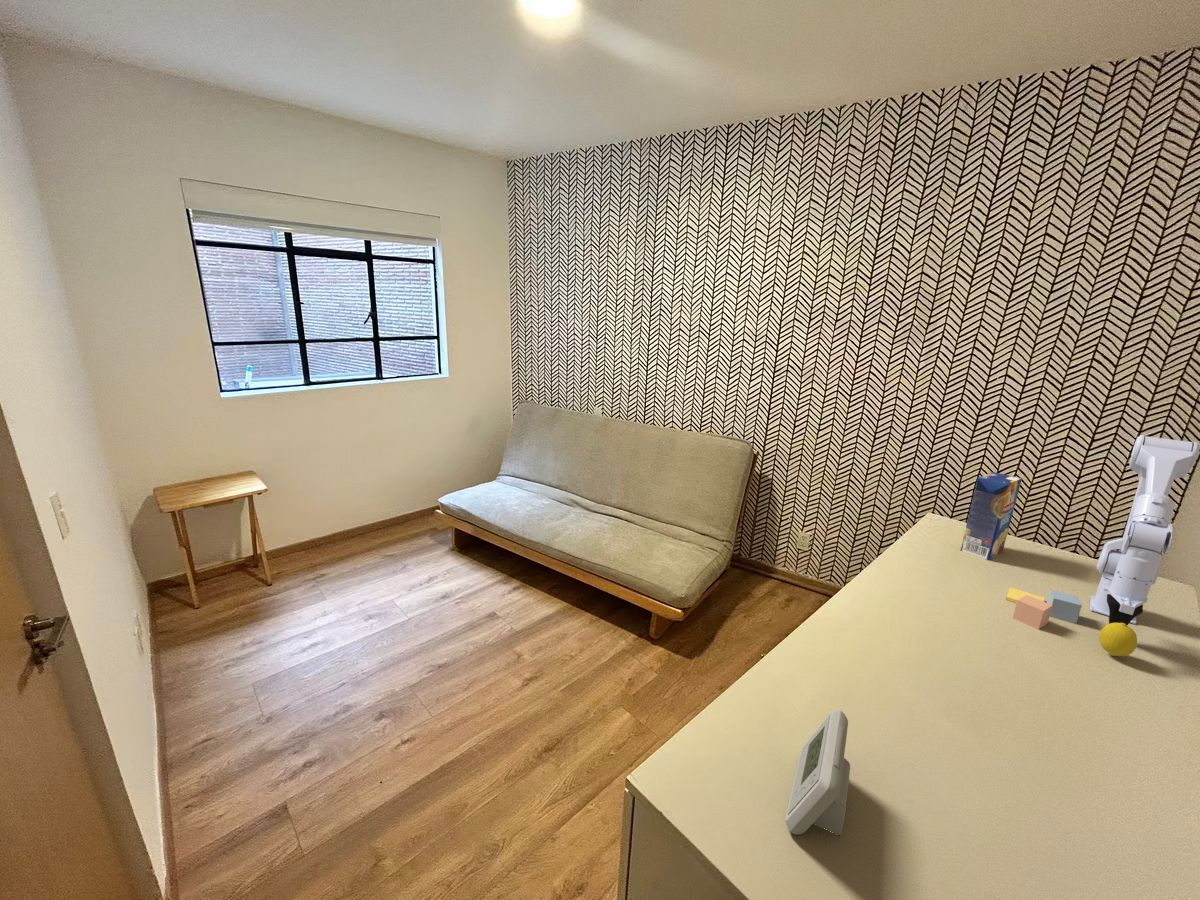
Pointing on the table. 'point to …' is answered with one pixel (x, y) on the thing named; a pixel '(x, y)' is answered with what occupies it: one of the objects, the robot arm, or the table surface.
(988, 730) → the table surface
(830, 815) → the digital clock
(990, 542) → the juice carton
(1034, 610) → the terracotta block
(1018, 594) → the tile
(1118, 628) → the lemon
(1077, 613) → the slate block
